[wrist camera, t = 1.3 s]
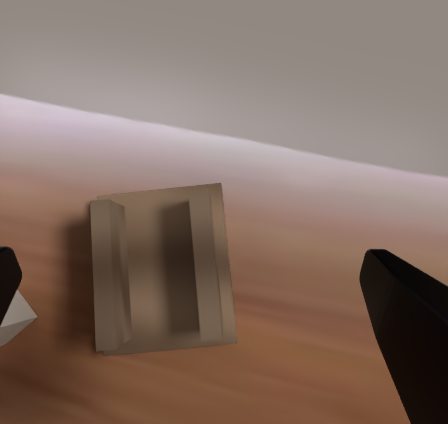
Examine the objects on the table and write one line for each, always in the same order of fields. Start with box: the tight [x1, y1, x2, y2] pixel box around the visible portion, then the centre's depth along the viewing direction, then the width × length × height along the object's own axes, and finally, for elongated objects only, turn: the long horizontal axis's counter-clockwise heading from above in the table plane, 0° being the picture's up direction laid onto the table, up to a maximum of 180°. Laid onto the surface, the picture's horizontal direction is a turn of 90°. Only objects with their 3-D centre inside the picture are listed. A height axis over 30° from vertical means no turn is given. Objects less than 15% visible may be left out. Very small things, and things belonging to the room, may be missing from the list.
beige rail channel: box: [90, 183, 237, 356], centre depth 22 cm, size 11×9×4 cm
